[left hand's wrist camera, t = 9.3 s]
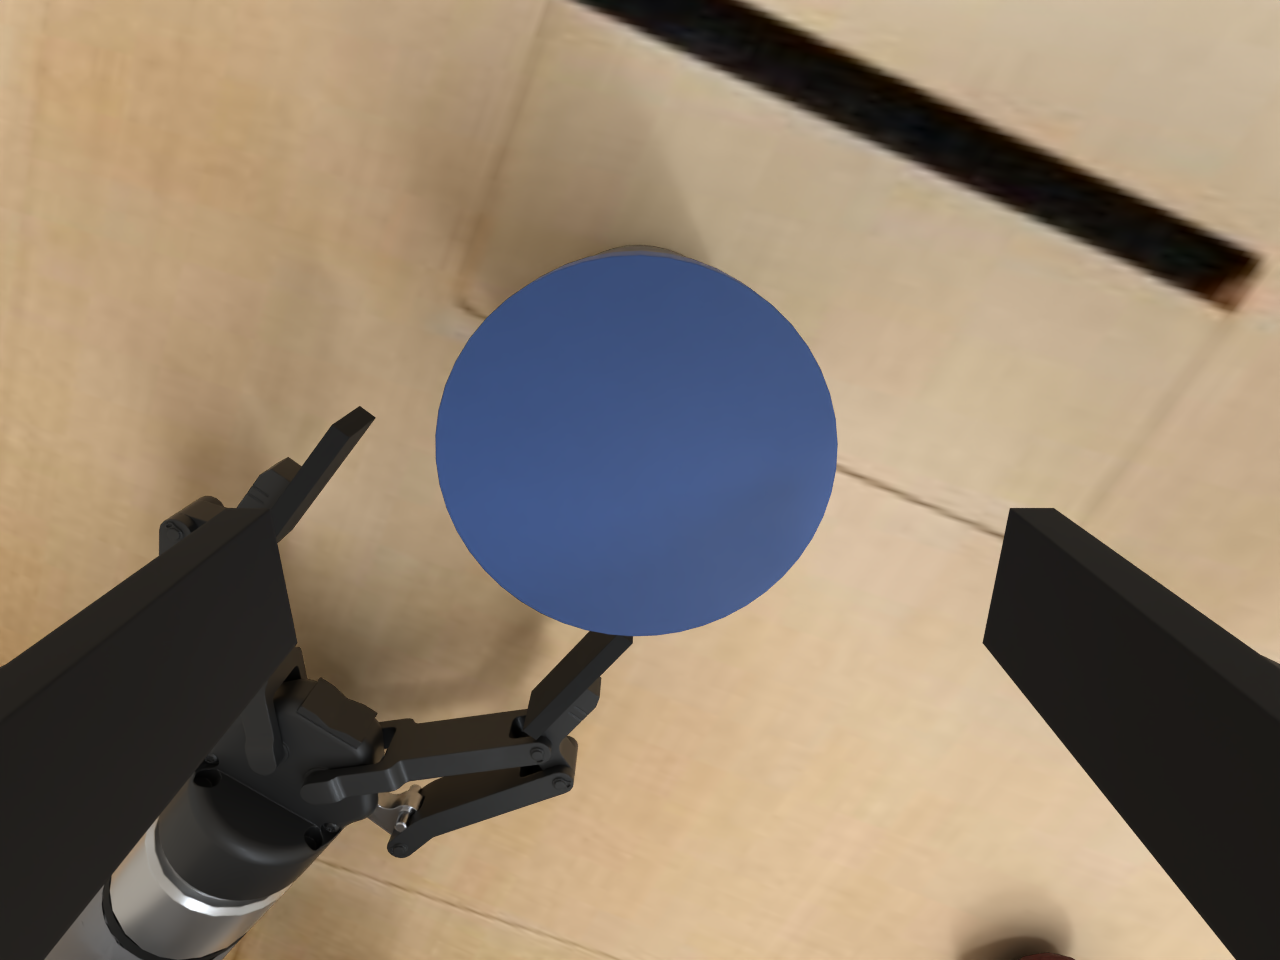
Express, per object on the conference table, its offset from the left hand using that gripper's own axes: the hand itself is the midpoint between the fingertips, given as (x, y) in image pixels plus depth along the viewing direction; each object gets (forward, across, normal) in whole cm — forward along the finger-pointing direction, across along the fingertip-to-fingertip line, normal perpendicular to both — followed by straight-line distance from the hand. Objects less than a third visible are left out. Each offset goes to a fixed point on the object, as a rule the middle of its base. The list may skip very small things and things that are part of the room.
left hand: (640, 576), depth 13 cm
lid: (+6, 0, 0) cm, 6 cm away
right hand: (+15, +6, +6) cm, 17 cm away
